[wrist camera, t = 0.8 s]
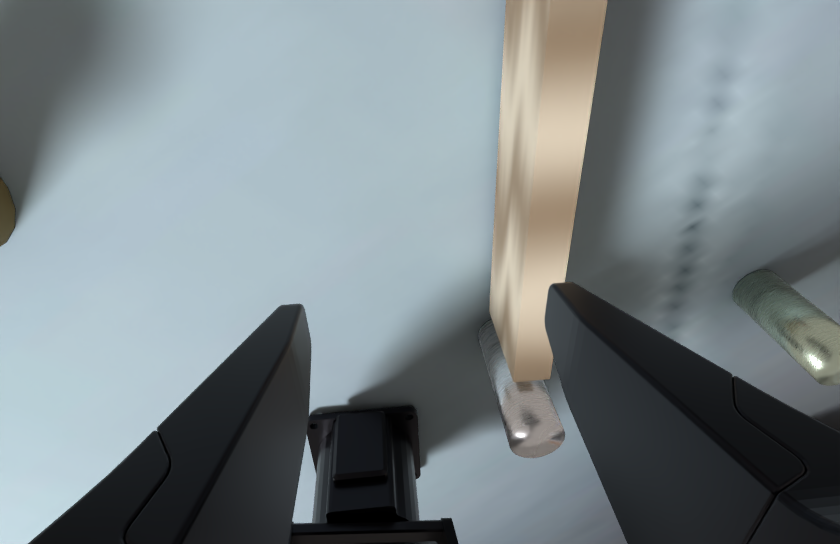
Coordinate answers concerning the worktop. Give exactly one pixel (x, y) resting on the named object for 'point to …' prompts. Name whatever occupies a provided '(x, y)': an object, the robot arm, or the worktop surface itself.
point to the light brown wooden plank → (539, 166)
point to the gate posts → (755, 294)
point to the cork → (6, 213)
